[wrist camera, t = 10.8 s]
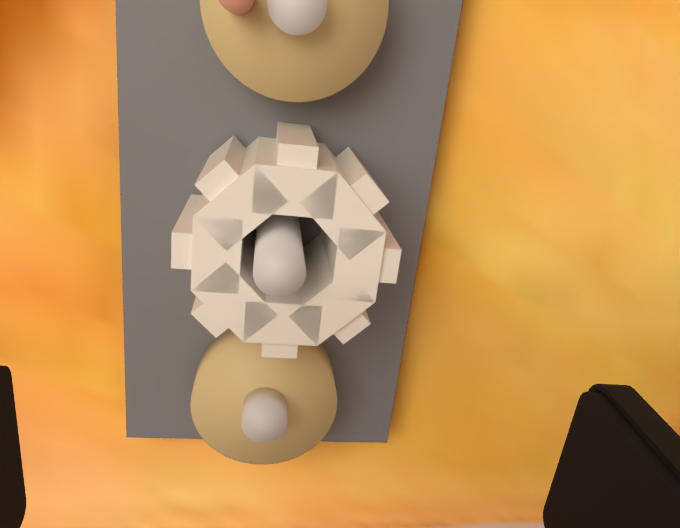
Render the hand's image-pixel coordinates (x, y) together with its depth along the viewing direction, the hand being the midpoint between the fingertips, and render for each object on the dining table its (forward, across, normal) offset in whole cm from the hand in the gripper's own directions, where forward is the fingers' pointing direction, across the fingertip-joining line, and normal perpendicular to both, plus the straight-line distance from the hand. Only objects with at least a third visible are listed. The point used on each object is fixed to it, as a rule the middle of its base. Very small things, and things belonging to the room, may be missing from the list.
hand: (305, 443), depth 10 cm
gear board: (+16, +1, +1) cm, 16 cm away
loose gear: (+14, 0, +1) cm, 14 cm away
